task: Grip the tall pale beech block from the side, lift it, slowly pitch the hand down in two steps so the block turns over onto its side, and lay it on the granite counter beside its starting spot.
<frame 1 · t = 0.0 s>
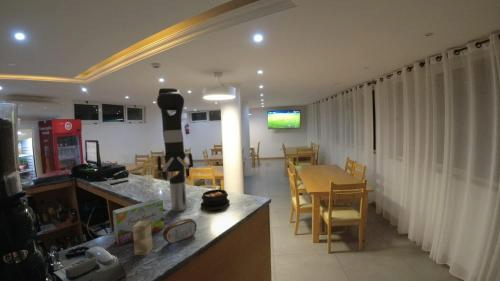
hand: (176, 178, 93), 29 cm above the bar counter, tool pointing down, fingers open, 8 cm apart
beech block: (144, 251, 91), on the bar counter
tin: (181, 240, 99), on the bar counter
snack box: (141, 235, 106), on the bar counter
casserole: (215, 205, 140), on the bar counter
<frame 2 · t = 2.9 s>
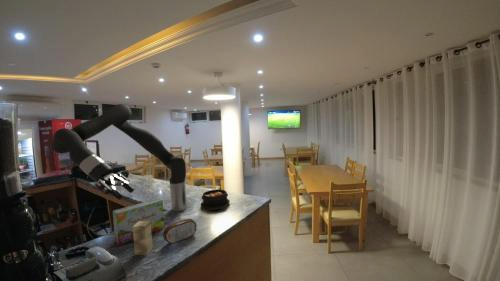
hand: (127, 194, 89), 25 cm above the bar counter, tool tilted 45°, fingers open, 8 cm apart
nothing on the bar counter moved.
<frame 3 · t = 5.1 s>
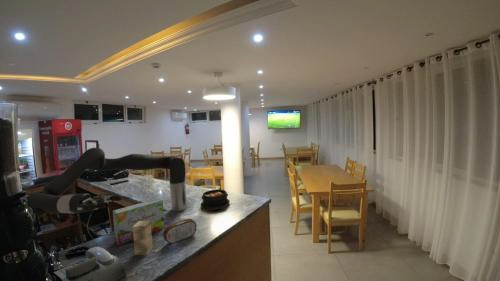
hand: (115, 201, 89), 22 cm above the bar counter, tool horizontal, fingers open, 8 cm apart
nothing on the bar counter moved.
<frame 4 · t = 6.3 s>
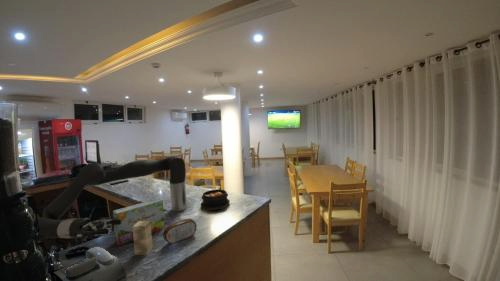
hand: (114, 226, 89), 12 cm above the bar counter, tool horizontal, fingers open, 8 cm apart
nothing on the bar counter moved.
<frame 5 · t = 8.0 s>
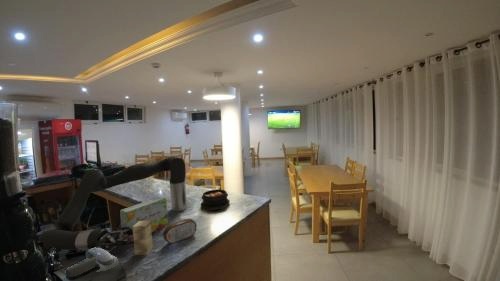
hand: (131, 237, 90), 7 cm above the bar counter, tool horizontal, fingers open, 8 cm apart
snack box: (147, 233, 107), on the bar counter
everything else where it was.
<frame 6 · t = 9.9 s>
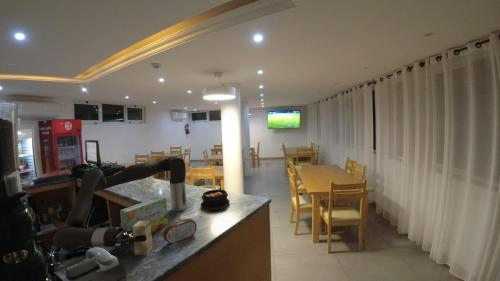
hand: (148, 234, 90), 7 cm above the bar counter, tool horizontal, fingers closed on beech block, 5 cm apart
beech block: (144, 251, 91), on the bar counter, touching gripper
everything else where it was.
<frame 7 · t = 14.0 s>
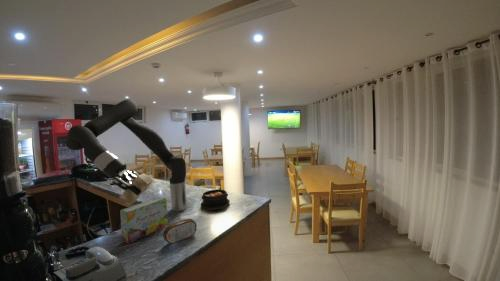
hand: (142, 191, 89), 26 cm above the bar counter, tool tilted 45°, fingers closed on beech block, 5 cm apart
beech block: (127, 199, 89), point 22 cm above the bar counter, tilted 44°, touching gripper
everything else where it was.
when the fingers open (2 cm above the bar counter, at t = 19.6 s): beech block drops 2 cm, point 2 cm above the bar counter.
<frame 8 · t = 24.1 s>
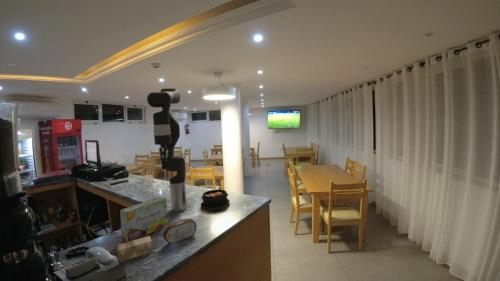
hand: (165, 167, 105), 32 cm above the bar counter, tool pointing down, fingers open, 8 cm apart
beech block: (118, 253, 86), point 2 cm above the bar counter, tilted 90°
everything else where it was.
at the end: beech block tilted 90°; beech block inside the target area (6.0 cm from its centre), point 2.2 cm above the bar counter; the gripper is holding nothing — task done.
